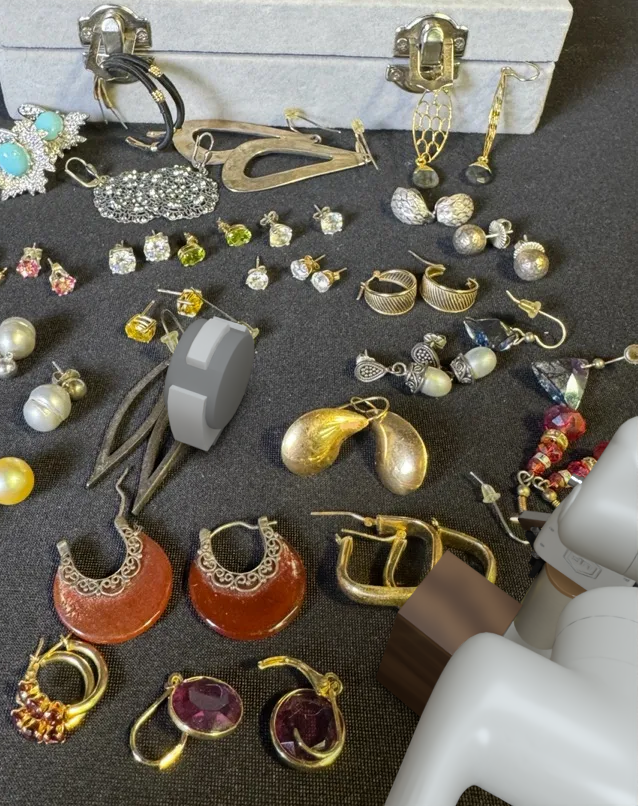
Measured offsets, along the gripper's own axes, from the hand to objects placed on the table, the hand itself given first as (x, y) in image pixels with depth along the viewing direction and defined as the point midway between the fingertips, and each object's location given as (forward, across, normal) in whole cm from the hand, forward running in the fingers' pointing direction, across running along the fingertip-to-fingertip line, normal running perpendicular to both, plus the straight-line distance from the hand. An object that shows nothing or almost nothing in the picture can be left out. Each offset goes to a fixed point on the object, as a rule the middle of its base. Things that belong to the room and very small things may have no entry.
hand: (564, 587), depth 93 cm
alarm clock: (+21, -58, 0) cm, 61 cm away
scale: (+21, 0, -1) cm, 21 cm away
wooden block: (+21, -8, -11) cm, 24 cm away
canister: (+11, 0, 0) cm, 11 cm away
